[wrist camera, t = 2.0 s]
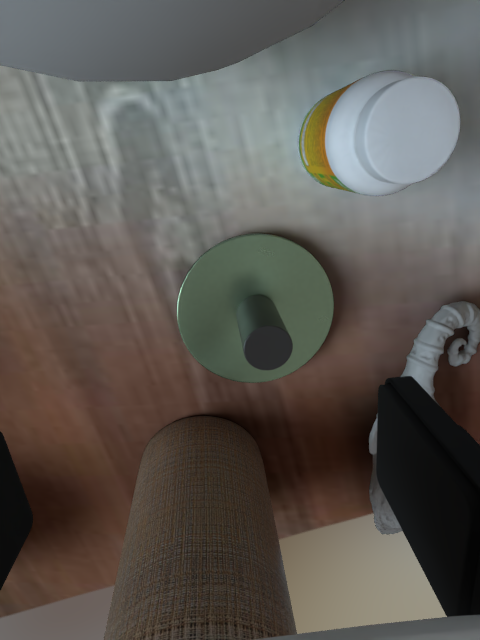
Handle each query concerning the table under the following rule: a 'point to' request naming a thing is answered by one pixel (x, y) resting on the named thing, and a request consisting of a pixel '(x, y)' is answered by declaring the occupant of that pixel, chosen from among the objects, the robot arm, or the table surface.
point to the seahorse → (427, 381)
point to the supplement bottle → (380, 133)
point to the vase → (145, 35)
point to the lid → (255, 308)
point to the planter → (201, 542)
